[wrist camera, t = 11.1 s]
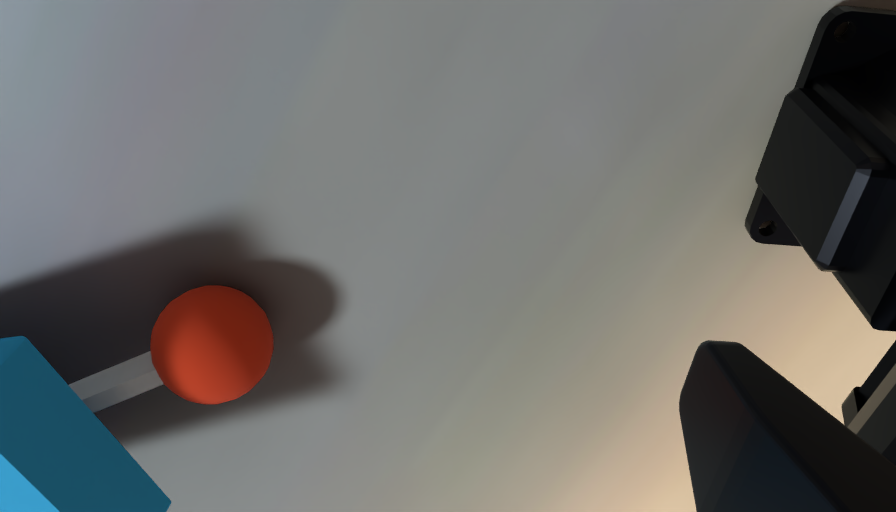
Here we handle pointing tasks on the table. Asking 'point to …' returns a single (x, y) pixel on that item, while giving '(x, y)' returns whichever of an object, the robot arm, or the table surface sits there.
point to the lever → (73, 406)
